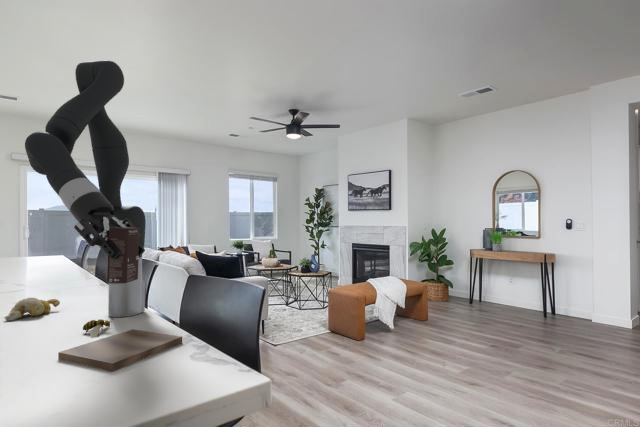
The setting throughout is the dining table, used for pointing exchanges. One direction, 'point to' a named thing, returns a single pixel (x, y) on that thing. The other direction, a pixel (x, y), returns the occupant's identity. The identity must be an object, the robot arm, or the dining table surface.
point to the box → (124, 255)
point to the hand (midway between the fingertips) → (130, 255)
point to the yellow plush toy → (31, 307)
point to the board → (120, 349)
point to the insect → (95, 326)
